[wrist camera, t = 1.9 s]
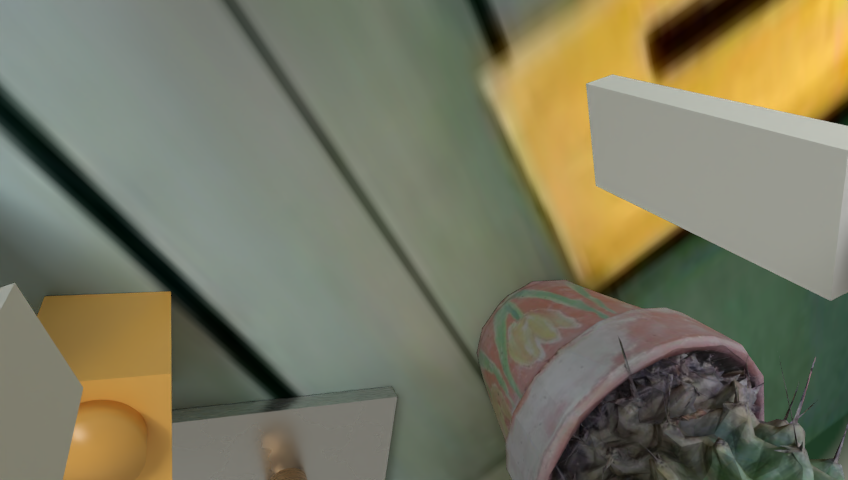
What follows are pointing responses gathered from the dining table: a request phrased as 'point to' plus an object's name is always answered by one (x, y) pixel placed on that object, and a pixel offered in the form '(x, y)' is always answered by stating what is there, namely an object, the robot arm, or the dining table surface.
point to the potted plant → (630, 394)
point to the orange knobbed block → (117, 382)
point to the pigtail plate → (287, 438)
